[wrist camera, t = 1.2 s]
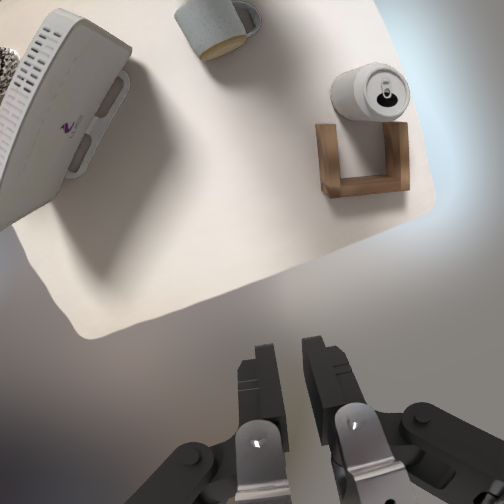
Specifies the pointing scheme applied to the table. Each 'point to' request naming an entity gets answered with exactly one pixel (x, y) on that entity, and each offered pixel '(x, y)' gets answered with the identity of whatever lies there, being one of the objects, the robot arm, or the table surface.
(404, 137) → the dock
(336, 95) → the can
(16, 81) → the network device
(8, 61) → the decorative candle
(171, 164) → the table surface
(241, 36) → the ceramic mug
